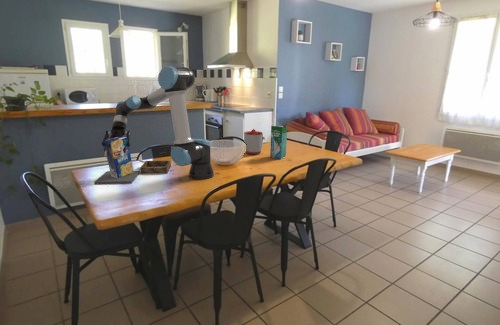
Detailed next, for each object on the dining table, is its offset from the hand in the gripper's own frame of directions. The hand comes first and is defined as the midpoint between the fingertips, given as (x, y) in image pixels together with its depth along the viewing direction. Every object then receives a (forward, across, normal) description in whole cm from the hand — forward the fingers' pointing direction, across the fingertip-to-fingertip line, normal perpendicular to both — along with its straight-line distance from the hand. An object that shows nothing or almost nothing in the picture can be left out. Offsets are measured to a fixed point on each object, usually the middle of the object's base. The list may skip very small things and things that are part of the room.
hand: (113, 156), depth 170 cm
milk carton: (-23, -106, -44) cm, 117 cm away
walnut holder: (-3, -19, -24) cm, 31 cm away
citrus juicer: (-33, -89, -54) cm, 109 cm away
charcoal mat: (+8, 0, -12) cm, 15 cm away
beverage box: (+5, -2, -12) cm, 14 cm away
